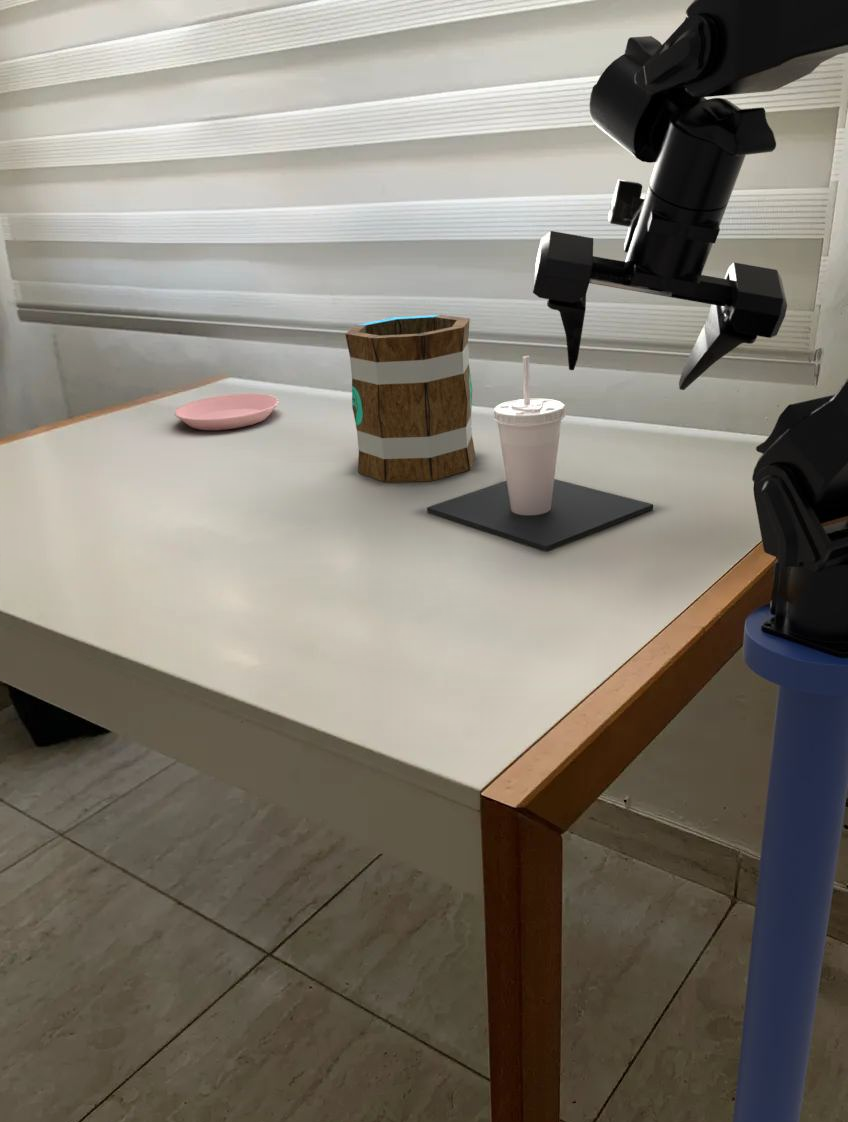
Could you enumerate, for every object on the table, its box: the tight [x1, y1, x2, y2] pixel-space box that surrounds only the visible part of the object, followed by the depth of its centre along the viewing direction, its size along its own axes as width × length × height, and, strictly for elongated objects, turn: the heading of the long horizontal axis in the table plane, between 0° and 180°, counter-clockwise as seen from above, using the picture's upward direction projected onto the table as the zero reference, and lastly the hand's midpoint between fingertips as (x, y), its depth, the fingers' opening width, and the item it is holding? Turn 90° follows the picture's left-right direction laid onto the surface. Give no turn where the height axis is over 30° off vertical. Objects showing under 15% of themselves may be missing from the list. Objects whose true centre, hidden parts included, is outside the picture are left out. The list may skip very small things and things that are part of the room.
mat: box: [426, 478, 654, 552], centre depth 97 cm, size 16×14×1 cm
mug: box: [344, 314, 476, 483], centre depth 113 cm, size 20×14×15 cm
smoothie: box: [493, 355, 566, 515], centre depth 93 cm, size 6×6×14 cm
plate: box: [174, 393, 280, 431], centre depth 140 cm, size 14×14×2 cm
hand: (626, 377), depth 84 cm, fingers open, 9 cm apart
